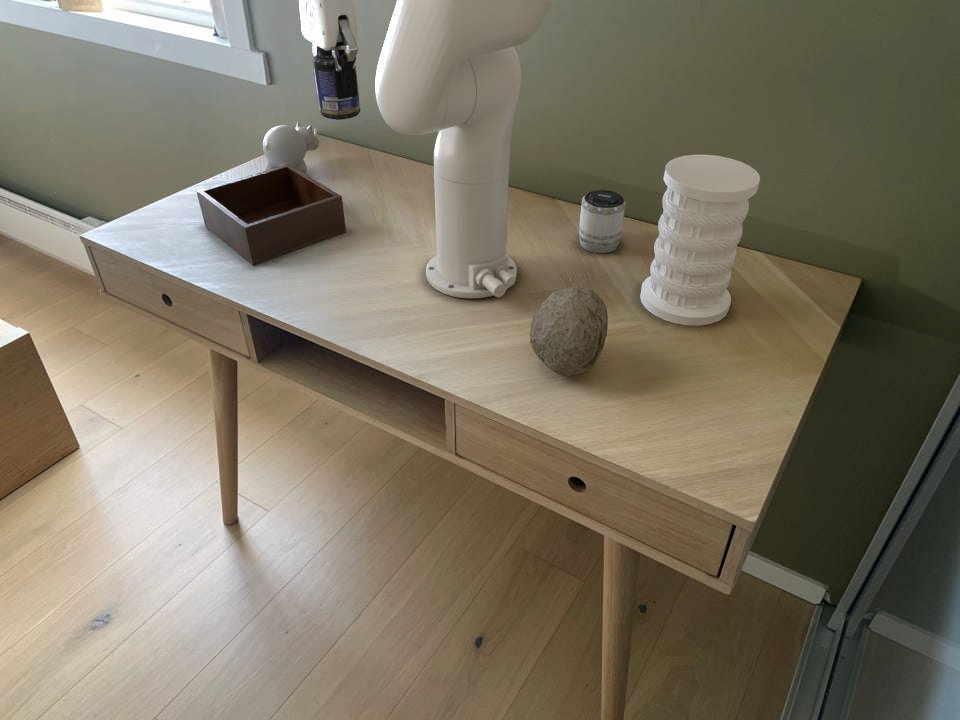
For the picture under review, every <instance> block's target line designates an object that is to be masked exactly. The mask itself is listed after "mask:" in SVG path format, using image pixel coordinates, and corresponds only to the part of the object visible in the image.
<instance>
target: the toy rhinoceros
mask: <svg viewBox="0 0 960 720" xmlns="http://www.w3.org/2000/svg"><path fill="white" fill-rule="evenodd" d="M318 137H319V135H318V130H317V129H316V128H314V130H313V125H311V124H310V125H309V126H308V127H307V126H302V125H301V123H300V121H297V122H296V127H295V128H294V127H293V126H290V125H285V124H283V125H282V124H281V125H277V126H276V125H275V126H274V127H272V128H271V129H269V130H268V131H267V133H266V134H265V136H264V139H263V141H262V150H263V154H264V156H265V157H266V158H265V159H266V163H265V168H264V169H265V170H264V171H267V170H271V169H274V168H277V167H281V166H284V165H288V164H290V165H291V166H293V167H294V168H296V169H298V170H299V171H301V172H303V173H304V174H306V173H307V172H308V168H307V167H308V166H307V164H306V161H305V157H306V154H307V152H309V151H315V150H317V149H318V147H319V146H320V145H319V144H320V140H319V138H318Z"/></svg>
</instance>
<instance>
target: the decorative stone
mask: <svg viewBox="0 0 960 720" xmlns="http://www.w3.org/2000/svg"><path fill="white" fill-rule="evenodd" d="M608 326H609V315H608V309H607V306H606V304H605V302H604V301H603V299H602V298H601V297H600V296H599V294H598V293H597V292H595V291H594V290H593V289H591V288H587V287H584V286H577V285H575V286H570V287H566V288H562V289H559V290H556V291H553V292H552V293H550V294H549V295H548V297H546V299H545V300H543V302H542V303H540V306H538V308H537V310H536V313H534V315H533V316H532V320H531V324H530V330H529V343H530V346H531V348H532V351H533V352H534V354H535V355H536V356H537V358H538V359H539V360H540V361H541V363H542V364H544V366H546V367H547V368H548V369H550V371H552V372H553V373H556V374H557V375H562V376H567V377H568V376H569V377H570V376H576V375H579V374H582V373H585V372H586V371H589V370H590V369H592V368H593V367H594V365H595V364H596V363H597V361H598V360H599V358H600V356H601V355H602V352H603V349H604V346H605V342H606V338H607V334H608V328H609V327H608Z"/></svg>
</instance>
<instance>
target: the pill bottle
mask: <svg viewBox="0 0 960 720" xmlns="http://www.w3.org/2000/svg"><path fill="white" fill-rule="evenodd" d="M342 45H344V42H337V43H336V46H342ZM316 47H317V49H318V54H316V55H315V57H314V56H313V59H312V63H313V70H314V71H313V72H314V78H315V85H316V94H317V102H318V108H319V113H320V115H321V116H322V117H324V118H326V119H330V120H336V121H337V120H338V121H341V120H348V119H352V118H356V117H358V115H359V114H360V113H361V101H360V94H359V83H358V73H357V68H356V69H355V71H356V81H357V91H358V95H357V96H355V97H350V98H344V99H338V98H337V97H336V91H335V83H334V74H333V70H336V68H335V64H334V60H333V56H332V52H331V49H330V50H328V51H326V50H324V49H322V48H320V47H319V46H317V45H316ZM342 53H345V51H341V52H338V54H339V58H341V55H342Z"/></svg>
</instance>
